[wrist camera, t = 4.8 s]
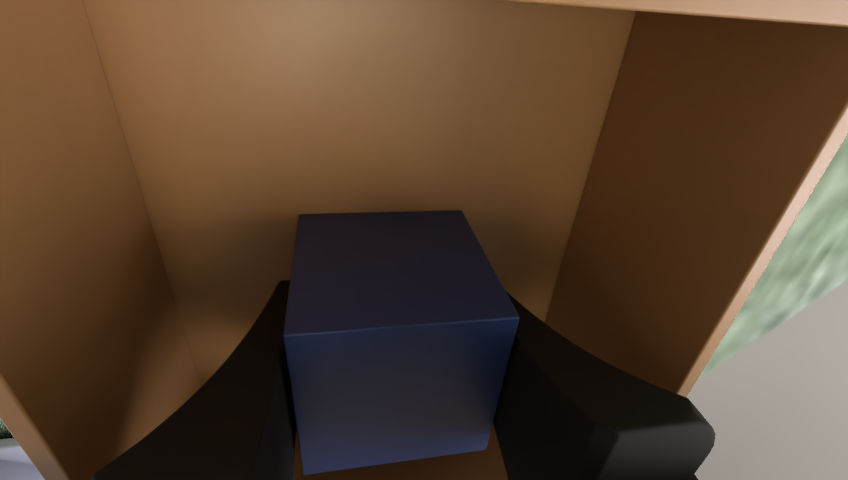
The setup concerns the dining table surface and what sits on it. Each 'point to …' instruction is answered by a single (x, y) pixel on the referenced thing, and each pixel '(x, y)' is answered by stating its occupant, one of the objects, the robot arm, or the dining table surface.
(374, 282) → the cube
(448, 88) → the carton
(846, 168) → the dining table surface
